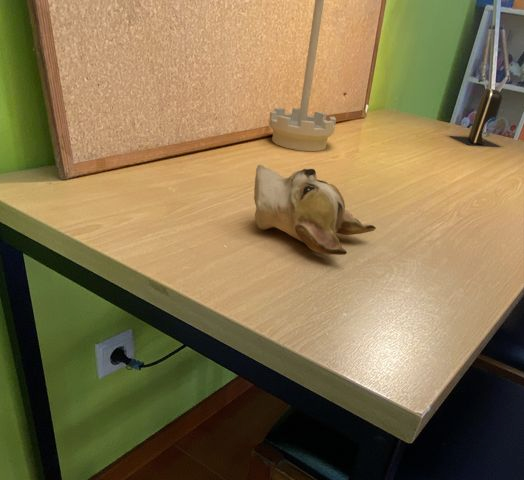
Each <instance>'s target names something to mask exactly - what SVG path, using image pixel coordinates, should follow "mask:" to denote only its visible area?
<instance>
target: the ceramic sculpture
mask: <svg viewBox="0 0 524 480" xmlns="http://www.w3.org/2000/svg"><path fill="white" fill-rule="evenodd" d="M253 192H254V193H253V200H254V204H255V212H254V221H255V223H256V226H257V227H258V229H260V230H268V229H272V228H276V229H278V230H280V231H282V232H285V233H286V234H288V235H289V236H290V237H292V238H294V239H296V240H297V241H300V242H302V243H303V244H305V245H306V247H308V248H309V249H310V250H311V251H313V252H314V253H317V254H322V255H334V256H336V255H337V256H345V255H347V253H348V252H347V250H346V249H345V248H344V247H343V245H342V244H341V242H340V238H339V236H338V235H337V234H340V235H344V236H354V235H361V234H365V233H370V232H374V231H375V230H376V229H377V227H376V226H375V225H373V224H363V223H362V222H361V221H360V220H359V219H357V218H355V217H354V215H353V214H352V213H351V212H350V211H348V210H346V204H345V200H344V196H343V195H342V193H341V192H340V190H339V188H338V187H336V186H335V185H334V184H332V183H328V182H327V181H325V180H320V179H318V175H317V172H316V170H315V169H314V168H303V169H301V170H296V171H294V172H293V173H292V174H291V175H290V176H289V177H283V176H282V175H281V174H280V173H279V172H277V171H274V170H272V169H271V168H267V167H265V166H264V165H262V164H258V165H257V167H256V169H255V178H254V187H253Z"/></svg>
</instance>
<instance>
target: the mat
mask: <svg viewBox="0 0 524 480" xmlns="http://www.w3.org/2000/svg"><path fill="white" fill-rule="evenodd" d="M449 137H450V138H452V139H454V140H456V141H458V142H461V143H463V144H465V145H467V146H476V147H477V146H478V147H495V148H496V147H497V148H498V147H499V148H500V145H499V144H496V143H494V142H491V141H488V140H486V139H484V144H476V143H475V144H474V143H471V141H470V139H469V136H457V135H456V136H455V135H449Z"/></svg>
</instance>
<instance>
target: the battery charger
mask: <svg viewBox="0 0 524 480" xmlns="http://www.w3.org/2000/svg"><path fill="white" fill-rule="evenodd" d="M502 100H503V95H502V92H501V91H499V90H498V89H492V88H484V90H483V92H482V94H481V98H480V100H479V104H478V108H477V110H476V113H475V116H474V119H473V121H472V125H471V128H470V131H469V135H468V137H469V139H470V141H471V143H474V144H475V143H476V144H484V140H485V139H484V137H483V132H484V128H485V125H486V123H487V122H489V121H490V120H491V118H496V117H498V113H499V110H500V108H501V104H502Z"/></svg>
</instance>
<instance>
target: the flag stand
mask: <svg viewBox="0 0 524 480" xmlns="http://www.w3.org/2000/svg"><path fill="white" fill-rule="evenodd" d="M324 2H325V0H314V6H313V12H312V13H313V14H312V20H311V29H310V35H309V42H308V49H307V55H306V65H305V71H304V78H303V86H302V93H301V99H300V107H292V111H291V113H286V108H284V107H275V108H273V110H271V109H270V111H269V118H268V120H269V121H268V125H269V127H270V128H271V129H272V131H273V132H272V138H271V141H272V142H273V143H274V144H275V145H277V146H279V147H282V148H287V149H290V150H295V151H301V152H302V151H303V152H320V151H324V150H325V149H327V144H328V139H329V137H331V136H332V135H333V134H334V133H335V130H336V129H335V127H336V122H337V118H336V117H335V116H328V120H327V115H328V114H327V113H325V112H323V111H318V110H316V111H314V113H313V116H312V115H308V112H309V111H308V110H309V104H310V97H311V92H312V84H313V77H314V70H315V64H316V57H317V49H318V43H319V37H320V29H321V25H322V23H321V22H322V17H323V10H324V4H325V3H324Z"/></svg>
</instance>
